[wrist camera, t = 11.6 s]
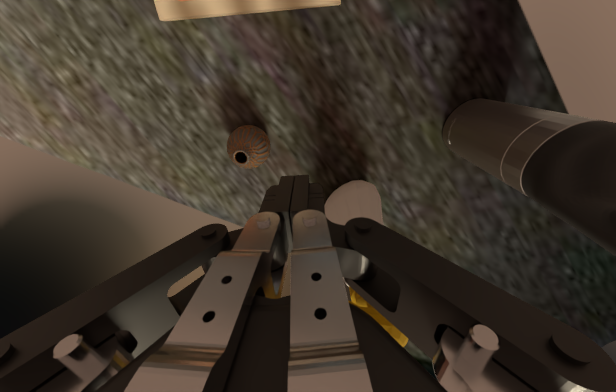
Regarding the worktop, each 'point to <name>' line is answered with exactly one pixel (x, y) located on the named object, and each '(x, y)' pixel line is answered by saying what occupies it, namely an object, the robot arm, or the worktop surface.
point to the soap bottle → (352, 204)
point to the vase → (248, 146)
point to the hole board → (229, 7)
